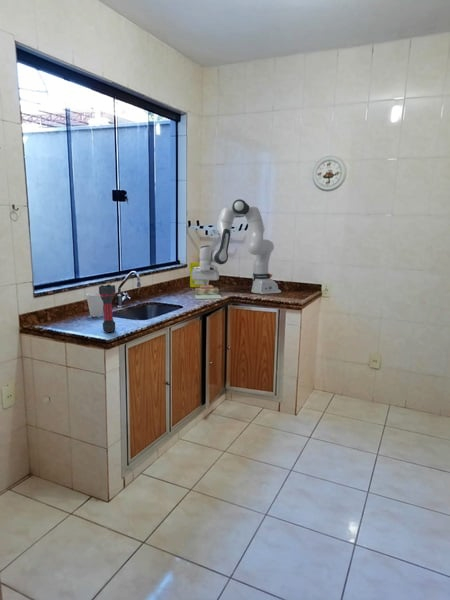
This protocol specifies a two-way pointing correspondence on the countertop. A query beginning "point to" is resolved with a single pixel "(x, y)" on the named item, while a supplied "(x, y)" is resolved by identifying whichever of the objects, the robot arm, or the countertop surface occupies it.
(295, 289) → the countertop surface
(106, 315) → the flashlight
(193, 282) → the food package
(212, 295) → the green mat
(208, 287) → the terracotta tile
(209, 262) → the robot arm
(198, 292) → the birch deck
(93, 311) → the foam cup
